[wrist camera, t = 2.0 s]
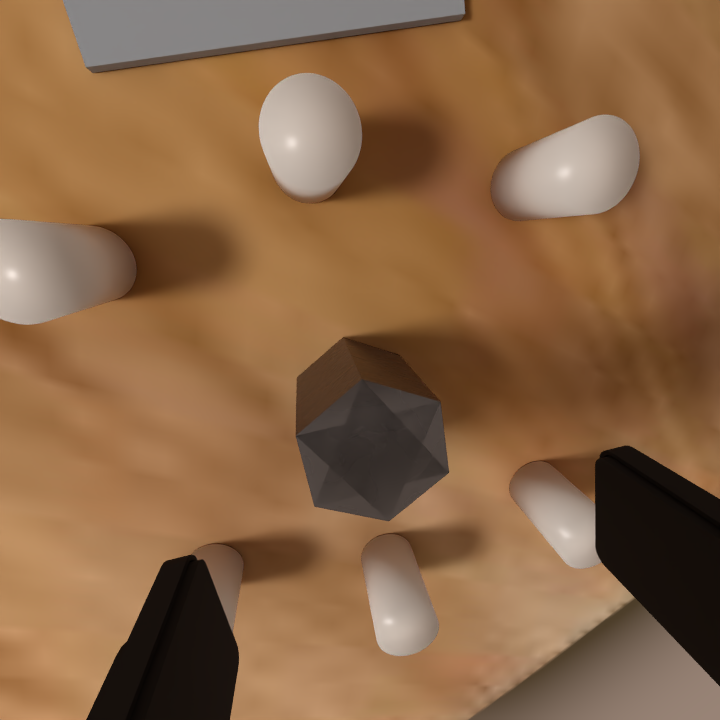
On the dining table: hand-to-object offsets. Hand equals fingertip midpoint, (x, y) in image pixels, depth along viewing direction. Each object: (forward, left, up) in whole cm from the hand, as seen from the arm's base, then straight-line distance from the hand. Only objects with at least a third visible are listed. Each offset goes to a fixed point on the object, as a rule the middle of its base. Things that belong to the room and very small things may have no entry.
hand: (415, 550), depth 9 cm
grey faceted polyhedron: (-1, 0, -8) cm, 8 cm away
